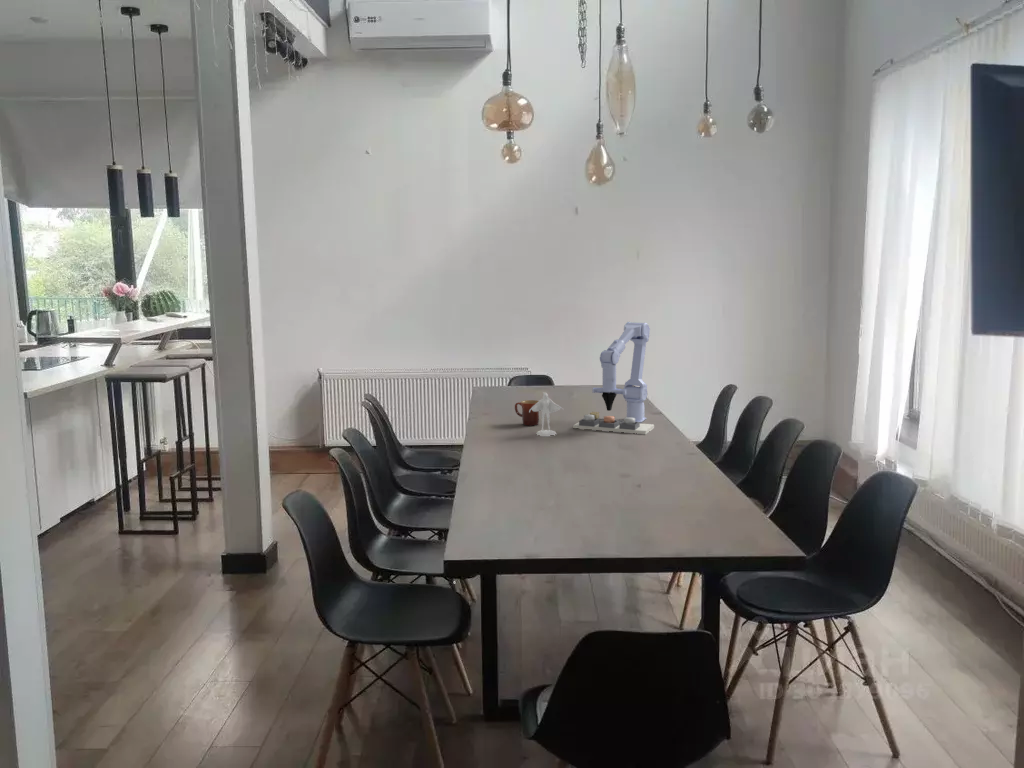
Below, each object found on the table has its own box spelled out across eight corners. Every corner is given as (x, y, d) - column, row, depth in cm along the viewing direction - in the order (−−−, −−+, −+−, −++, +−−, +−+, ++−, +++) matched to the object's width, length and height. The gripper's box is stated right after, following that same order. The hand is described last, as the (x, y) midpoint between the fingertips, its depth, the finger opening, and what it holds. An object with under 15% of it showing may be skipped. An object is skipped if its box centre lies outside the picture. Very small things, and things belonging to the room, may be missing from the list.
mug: (543, 423, 359) (543, 400, 357) (535, 427, 351) (534, 404, 350) (519, 421, 365) (519, 399, 363) (510, 425, 357) (510, 402, 355)
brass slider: (592, 419, 357) (592, 411, 356) (599, 420, 356) (599, 412, 355) (589, 421, 353) (589, 413, 353) (596, 421, 352) (596, 413, 352)
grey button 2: (625, 422, 344) (625, 416, 343) (636, 423, 342) (636, 417, 341) (622, 424, 340) (622, 419, 339) (633, 425, 338) (633, 419, 337)
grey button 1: (585, 419, 351) (585, 414, 351) (595, 420, 349) (595, 414, 349) (582, 421, 347) (582, 416, 347) (592, 422, 345) (592, 416, 345)
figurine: (529, 436, 334) (528, 393, 331) (530, 430, 345) (529, 389, 342) (564, 436, 334) (563, 393, 331) (563, 430, 344) (563, 389, 341)
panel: (583, 422, 360) (583, 414, 359) (654, 427, 347) (654, 419, 346) (573, 428, 348) (573, 420, 347) (645, 434, 334) (645, 426, 334)
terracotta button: (605, 421, 347) (605, 415, 347) (616, 422, 345) (616, 416, 345) (602, 423, 343) (602, 417, 343) (612, 424, 341) (612, 418, 341)
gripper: (589, 379, 341) (589, 410, 343) (623, 380, 335) (622, 413, 337) (595, 376, 347) (595, 407, 349) (628, 378, 341) (627, 410, 343)
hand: (609, 410), depth 344 cm, fingers closed
